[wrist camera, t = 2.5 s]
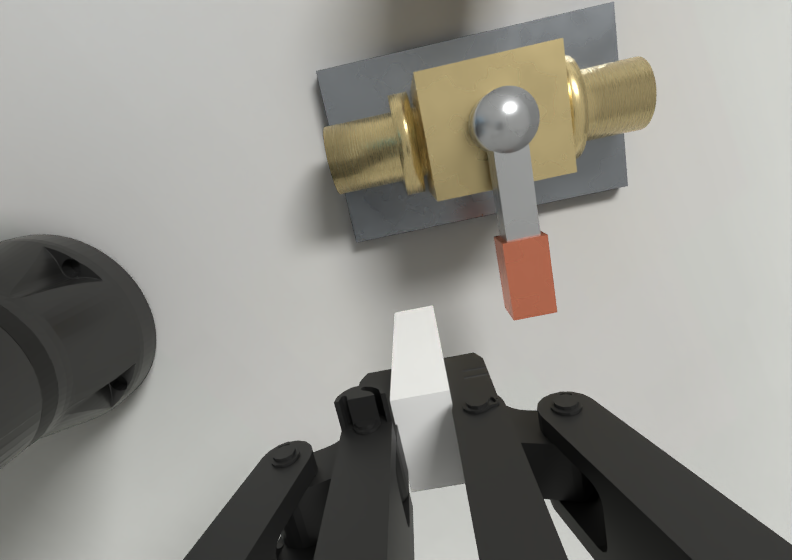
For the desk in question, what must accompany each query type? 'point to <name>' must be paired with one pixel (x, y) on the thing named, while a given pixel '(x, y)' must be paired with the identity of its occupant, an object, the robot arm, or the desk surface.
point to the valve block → (450, 109)
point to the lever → (515, 199)
